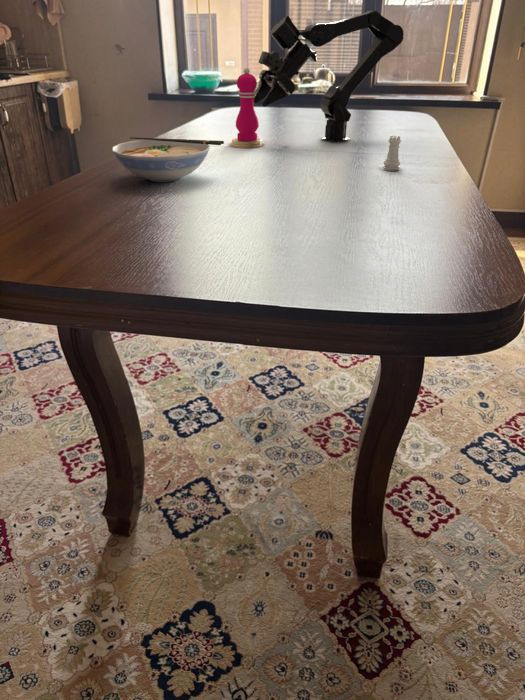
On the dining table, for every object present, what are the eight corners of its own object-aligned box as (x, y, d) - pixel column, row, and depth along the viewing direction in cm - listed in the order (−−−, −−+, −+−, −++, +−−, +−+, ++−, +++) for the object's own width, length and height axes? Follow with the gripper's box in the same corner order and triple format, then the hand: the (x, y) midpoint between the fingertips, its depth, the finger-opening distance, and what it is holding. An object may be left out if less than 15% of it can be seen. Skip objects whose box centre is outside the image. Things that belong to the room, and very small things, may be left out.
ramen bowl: (92, 185, 121) (86, 147, 116) (144, 165, 139) (140, 132, 135) (189, 195, 113) (186, 156, 109) (230, 173, 132) (229, 138, 127)
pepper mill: (235, 137, 167) (234, 66, 157) (258, 137, 168) (258, 67, 157) (236, 141, 161) (234, 68, 151) (259, 141, 161) (259, 68, 151)
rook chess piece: (401, 168, 137) (405, 135, 133) (397, 171, 134) (402, 138, 129) (384, 166, 139) (388, 134, 134) (380, 170, 135) (384, 137, 131)
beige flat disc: (250, 141, 170) (250, 136, 170) (267, 145, 164) (267, 140, 163) (225, 144, 165) (225, 139, 165) (242, 148, 159) (242, 143, 158)
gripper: (265, 39, 160) (231, 81, 163) (286, 40, 145) (248, 86, 148) (288, 68, 166) (256, 107, 169) (311, 72, 151) (274, 115, 154)
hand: (258, 103), depth 160 cm, fingers open, 9 cm apart
